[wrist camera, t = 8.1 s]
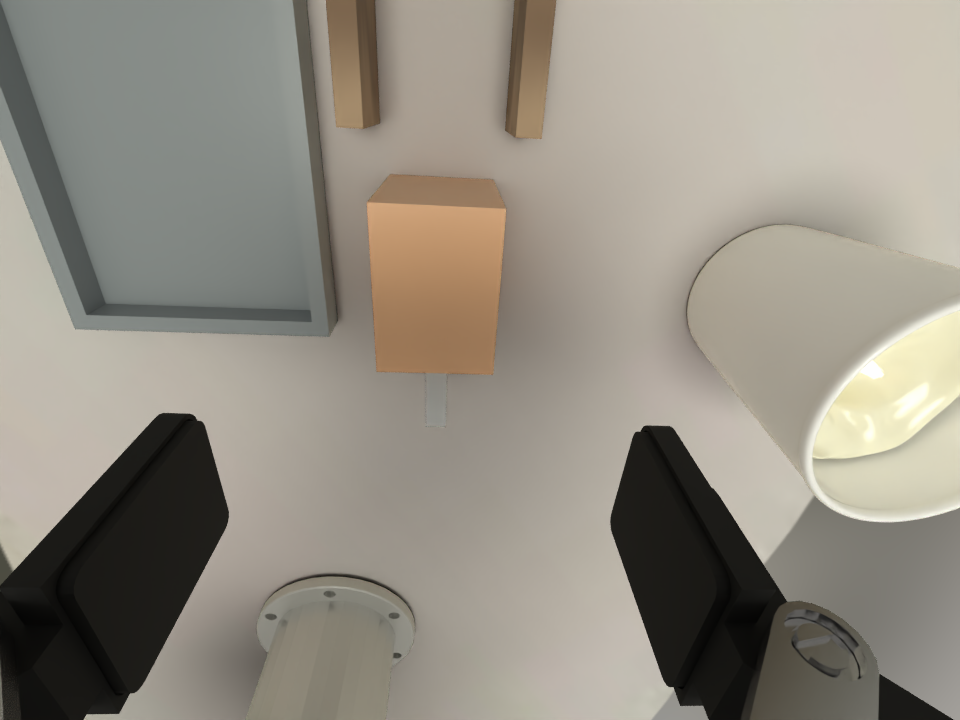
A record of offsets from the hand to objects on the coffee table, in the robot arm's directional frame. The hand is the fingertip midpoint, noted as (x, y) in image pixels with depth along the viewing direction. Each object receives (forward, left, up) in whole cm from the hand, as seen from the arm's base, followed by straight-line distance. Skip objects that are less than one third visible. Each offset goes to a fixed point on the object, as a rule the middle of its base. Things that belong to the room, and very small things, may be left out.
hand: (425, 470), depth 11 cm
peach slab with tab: (-2, 0, -17) cm, 17 cm away
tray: (+4, +12, -16) cm, 21 cm away
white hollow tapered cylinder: (-2, -18, -17) cm, 25 cm away
